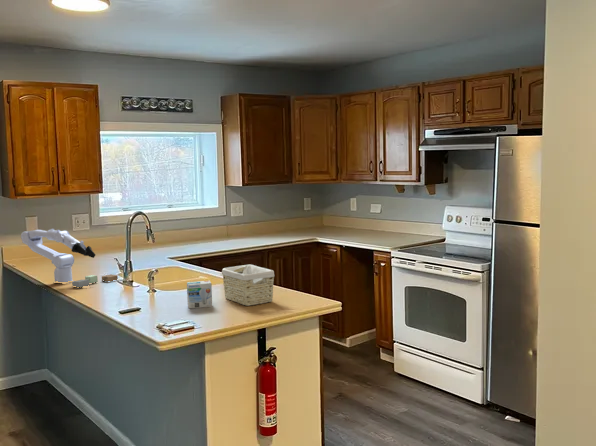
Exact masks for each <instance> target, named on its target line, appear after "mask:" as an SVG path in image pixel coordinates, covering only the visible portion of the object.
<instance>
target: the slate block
mask: <svg viewBox="0 0 596 446" xmlns="http://www.w3.org/2000/svg"><path fill="white" fill-rule="evenodd" d="M72 281H73V282H72V283H71V285H72V287H73V286H76V287H83V286H88V285H89V286H90V284H89V280H85V279H79V280H72Z"/></svg>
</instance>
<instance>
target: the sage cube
mask: <svg viewBox="0 0 596 446" xmlns="http://www.w3.org/2000/svg"><path fill="white" fill-rule="evenodd" d="M84 280H89V283H94V282H98V275H94V274H91V275H85V277H84ZM98 283H99V282H98Z"/></svg>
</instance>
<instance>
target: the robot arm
mask: <svg viewBox="0 0 596 446" xmlns="http://www.w3.org/2000/svg"><path fill="white" fill-rule="evenodd" d="M20 238H21V241H22V244H24V245H26V246H28V248H29V249H30V250H31V251H32V252H34V253H36V254H38V255H40V256H42V257H44V258H46V259H48V260H50V261H51V264H53V266H54V267H55V269H54V271H53V276H54V282H55V281H58V282H68V281H73V273H72V272H73V269H72V267H73V265H74V264H75V258H74V256H73V254H71V253H62V252H58V251H56V250H54V249H52V248H49V247H48V246H46V245H44V244H43V243H44V242H43V238H46V239H47V240H49V241H55V242H56V243H61V244H63V245H64V246H66V247H67V248H69V249H71V251H70V252H73V253H78V254H80V255H83V256H85V257H89V258H92V259H94V258H95V257H96V254H95V252H94V251H93V249H92V247H91V246H90V245H87V247H86V245H85V244H84V243H85V241H84V240H78V239H77V238H75V237H73V236H72V235H71V234H70V232H69V230H66V229H64V230H60V229H56V230H55V228H50V229H48V230H44V229H35V230H34V229H33V230H27V231H22V232H21V234H20Z"/></svg>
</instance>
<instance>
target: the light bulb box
mask: <svg viewBox="0 0 596 446" xmlns="http://www.w3.org/2000/svg"><path fill="white" fill-rule="evenodd" d="M212 289H213V288H212V282H211V280H199V281H188V282H186V290H187V291H186V292H187V293H186V294H187V297H186V298H187V306H188V309H199V308H209V307H210V308H211V307H213V290H212Z"/></svg>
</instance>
